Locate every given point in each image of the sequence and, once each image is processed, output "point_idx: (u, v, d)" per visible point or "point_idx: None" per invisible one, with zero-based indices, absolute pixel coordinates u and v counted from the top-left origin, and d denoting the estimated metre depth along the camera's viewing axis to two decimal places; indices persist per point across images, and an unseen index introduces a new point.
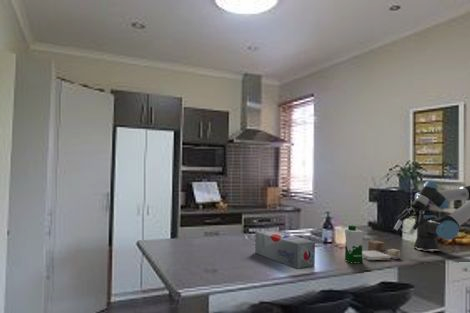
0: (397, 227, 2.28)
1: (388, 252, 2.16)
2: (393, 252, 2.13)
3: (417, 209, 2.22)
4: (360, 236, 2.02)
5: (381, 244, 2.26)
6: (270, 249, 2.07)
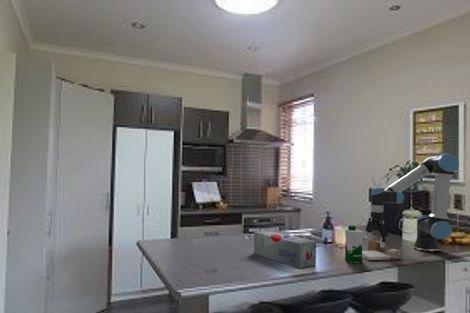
0: (370, 240, 2.35)
1: (388, 252, 2.16)
2: (393, 252, 2.13)
3: (377, 220, 2.27)
4: (360, 236, 2.02)
5: None
6: (270, 250, 2.07)
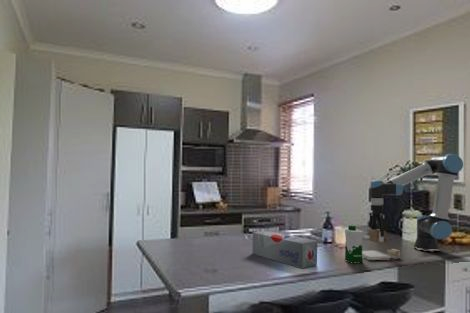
0: None
1: (388, 252, 2.16)
2: (393, 252, 2.13)
3: (378, 212, 2.27)
4: (360, 236, 2.02)
5: None
6: (270, 250, 2.06)
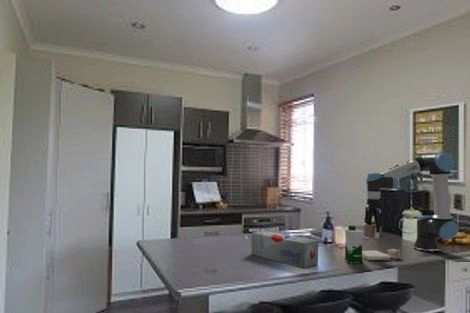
0: None
1: (388, 252, 2.16)
2: (393, 252, 2.13)
3: (374, 207, 2.14)
4: (360, 236, 2.02)
5: None
6: (270, 250, 2.06)
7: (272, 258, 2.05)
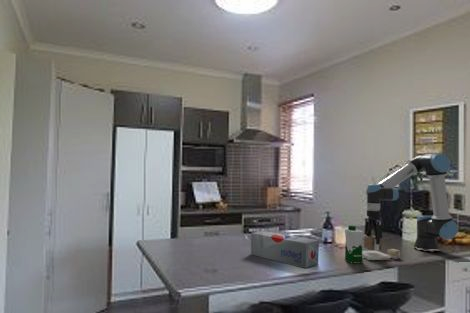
0: None
1: (388, 252, 2.16)
2: (393, 252, 2.13)
3: (374, 218, 2.14)
4: (360, 236, 2.02)
5: None
6: (270, 250, 2.05)
7: (272, 258, 2.04)
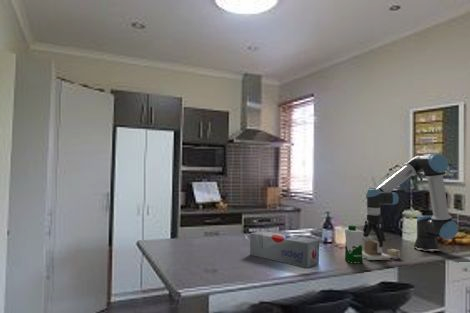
0: None
1: (388, 252, 2.16)
2: (393, 252, 2.13)
3: (374, 223, 2.14)
4: (360, 236, 2.02)
5: None
6: (271, 250, 2.05)
7: (273, 258, 2.04)
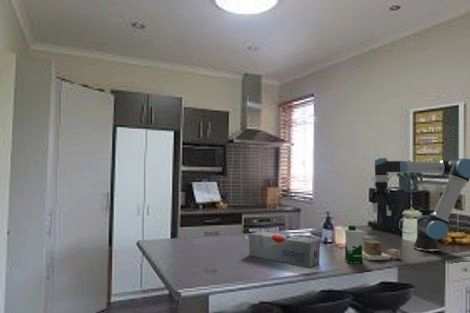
0: (375, 210, 2.40)
1: (388, 252, 2.16)
2: (393, 252, 2.13)
3: (382, 189, 2.31)
4: (360, 236, 2.02)
5: (378, 244, 2.13)
6: (271, 251, 2.04)
7: (273, 259, 2.04)
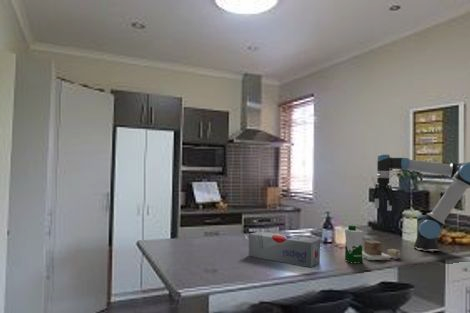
0: (377, 205, 2.46)
1: (388, 252, 2.16)
2: (393, 252, 2.13)
3: (384, 185, 2.37)
4: (360, 236, 2.02)
5: (378, 244, 2.13)
6: (271, 251, 2.04)
7: (273, 259, 2.03)
